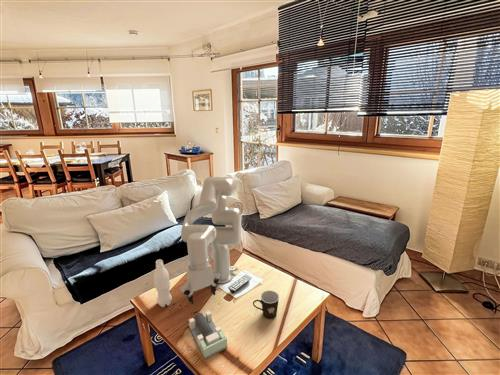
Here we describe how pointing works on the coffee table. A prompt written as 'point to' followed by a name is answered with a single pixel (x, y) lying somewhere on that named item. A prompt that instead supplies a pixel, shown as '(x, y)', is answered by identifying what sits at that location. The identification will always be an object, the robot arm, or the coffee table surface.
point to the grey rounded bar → (206, 329)
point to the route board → (201, 340)
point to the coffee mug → (269, 304)
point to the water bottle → (162, 284)
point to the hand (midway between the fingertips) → (202, 297)
